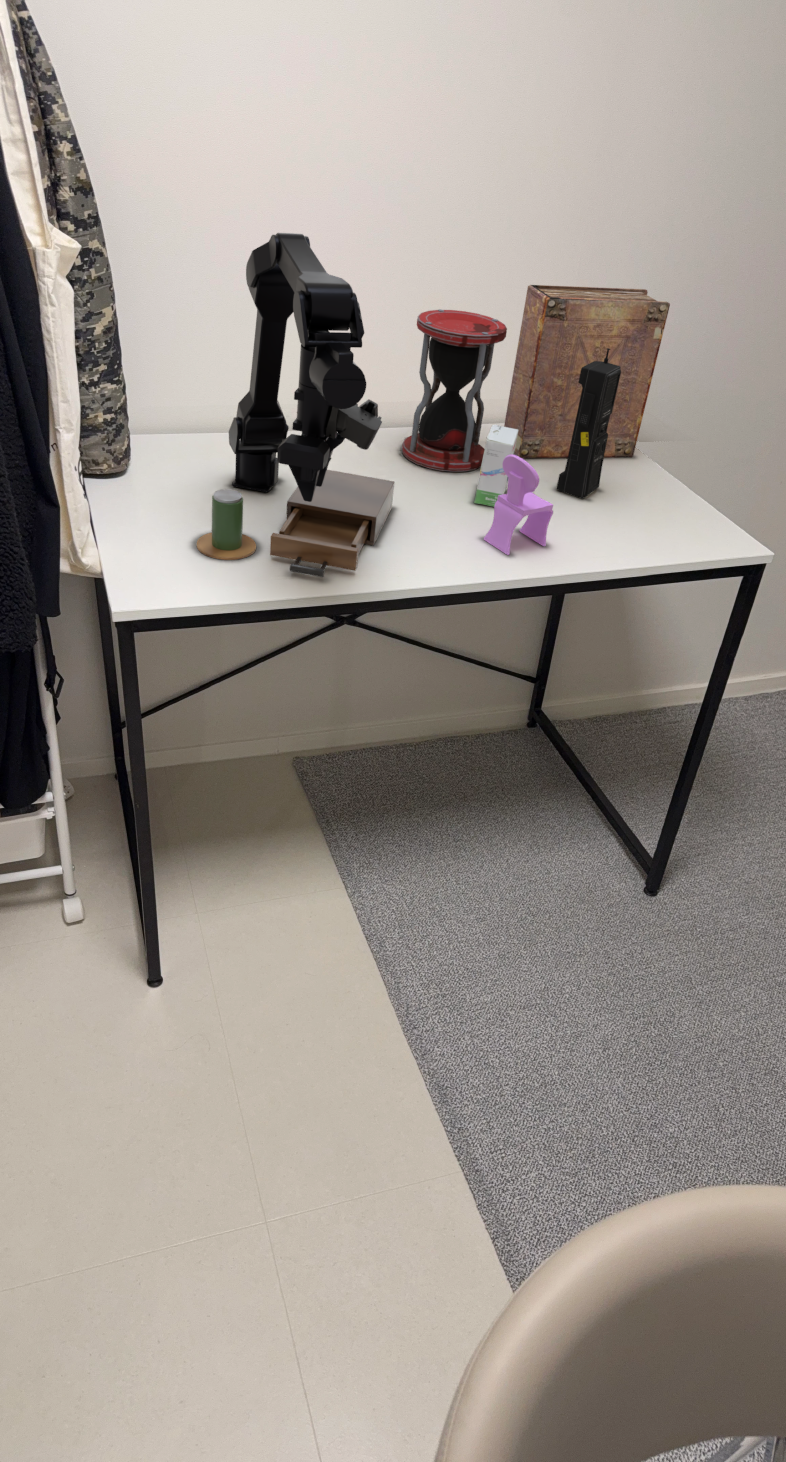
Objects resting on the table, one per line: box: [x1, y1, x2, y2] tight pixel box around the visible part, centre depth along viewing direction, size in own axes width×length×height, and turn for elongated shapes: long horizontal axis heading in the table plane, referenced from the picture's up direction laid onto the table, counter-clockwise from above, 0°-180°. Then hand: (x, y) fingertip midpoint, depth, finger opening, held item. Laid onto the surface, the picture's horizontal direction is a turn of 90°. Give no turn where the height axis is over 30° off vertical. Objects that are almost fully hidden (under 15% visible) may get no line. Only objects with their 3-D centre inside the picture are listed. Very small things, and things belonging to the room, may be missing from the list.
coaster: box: [196, 532, 257, 561], centre depth 160 cm, size 9×9×1 cm
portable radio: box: [556, 348, 621, 500], centre depth 186 cm, size 8×6×25 cm
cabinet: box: [285, 469, 395, 546], centre depth 171 cm, size 15×14×5 cm
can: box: [211, 488, 244, 550], centre depth 157 cm, size 5×5×8 cm
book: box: [503, 284, 671, 459], centre depth 202 cm, size 25×9×30 cm, turn 107°
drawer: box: [269, 507, 372, 578], centre depth 160 cm, size 18×13×3 cm
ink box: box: [473, 424, 519, 508], centre depth 183 cm, size 9×5×12 cm, turn 168°
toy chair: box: [483, 454, 554, 556], centre depth 168 cm, size 8×9×15 cm
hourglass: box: [401, 308, 508, 473], centre depth 193 cm, size 16×16×25 cm
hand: (313, 493), depth 147 cm, fingers open, 5 cm apart
